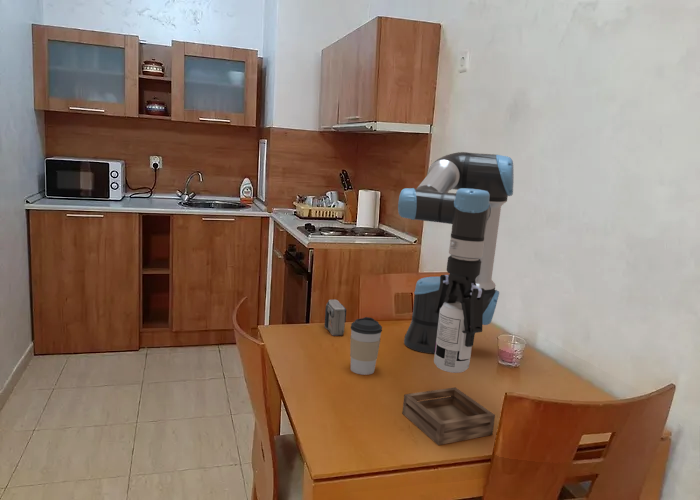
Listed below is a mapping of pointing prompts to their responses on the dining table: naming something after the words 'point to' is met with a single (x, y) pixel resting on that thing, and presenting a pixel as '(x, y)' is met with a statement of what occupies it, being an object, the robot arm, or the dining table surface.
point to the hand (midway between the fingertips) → (452, 351)
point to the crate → (448, 415)
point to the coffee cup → (364, 345)
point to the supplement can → (450, 339)
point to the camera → (335, 317)
